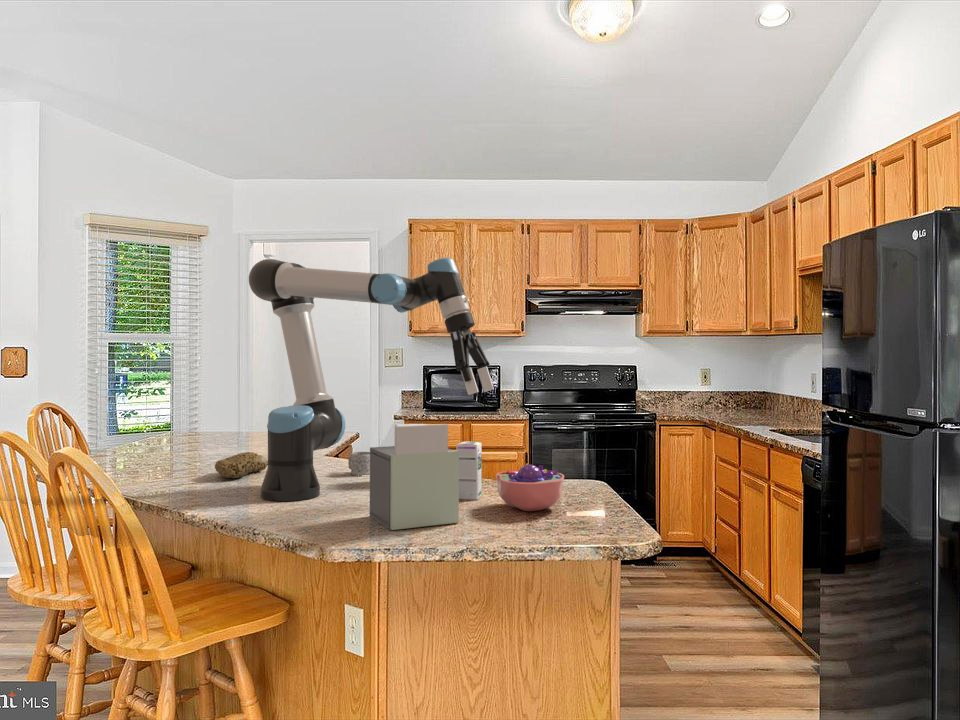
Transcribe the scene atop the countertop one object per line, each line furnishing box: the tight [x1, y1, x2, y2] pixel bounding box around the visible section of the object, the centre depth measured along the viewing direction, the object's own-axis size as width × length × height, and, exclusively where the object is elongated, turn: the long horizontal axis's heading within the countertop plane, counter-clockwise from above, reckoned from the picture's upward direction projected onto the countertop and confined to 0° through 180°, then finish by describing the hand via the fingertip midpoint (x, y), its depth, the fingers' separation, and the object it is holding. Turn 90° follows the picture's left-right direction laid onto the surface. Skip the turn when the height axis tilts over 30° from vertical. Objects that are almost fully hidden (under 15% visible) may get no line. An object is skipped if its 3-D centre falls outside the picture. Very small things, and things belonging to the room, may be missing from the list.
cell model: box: [495, 464, 565, 512], centre depth 172 cm, size 17×20×11 cm
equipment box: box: [369, 445, 453, 531], centre depth 160 cm, size 14×16×16 cm
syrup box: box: [455, 440, 483, 501], centre depth 185 cm, size 6×6×14 cm
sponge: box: [214, 451, 268, 479], centre depth 215 cm, size 13×8×20 cm
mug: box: [347, 451, 370, 477], centre depth 220 cm, size 10×7×7 cm, turn 46°
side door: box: [390, 423, 460, 531], centre depth 153 cm, size 1×16×22 cm, turn 116°
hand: (481, 392), depth 183 cm, fingers open, 13 cm apart
